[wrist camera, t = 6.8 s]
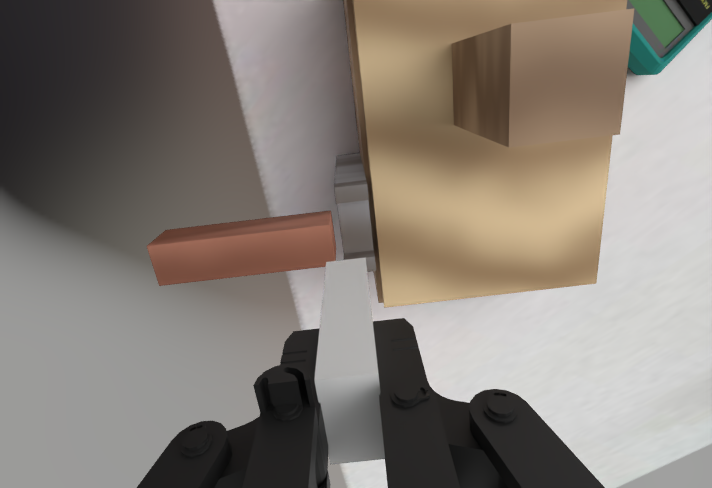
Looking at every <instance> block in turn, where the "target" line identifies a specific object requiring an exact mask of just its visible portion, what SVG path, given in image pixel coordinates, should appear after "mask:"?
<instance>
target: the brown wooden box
mask: <svg viewBox="0 0 712 488" xmlns="http://www.w3.org/2000/svg"><path fill="white" fill-rule="evenodd" d="M343 3H344V12H345V21H346V30H347V39H348V48H349V58H350V67H351V76H352V85H353V94H354V103H355V113H356V122H357V131H358V140H359V149H360V153H357V154H348V155H340V156H337V157H336V169H335V182H334V191H335V199H336V204H337V207H338V214H339V222H340V229H341V237H342V244H343V251H344V260H348V259H357V258H366V265H367V272H370V271H374V277H375V283H376V289H377V295H378V301H379V303H382V302H383V295H382V285H381V276H380V266H379V256H378V246H377V236H376V227H375V217H374V207H373V197H372V187H371V178H370V168H369V158H368V148H367V138H366V129H365V119H364V109H363V99H362V89H361V80H360V70H359V60H358V50H357V40H356V30H355V21H354V11H353V1H352V0H343Z"/></svg>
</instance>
